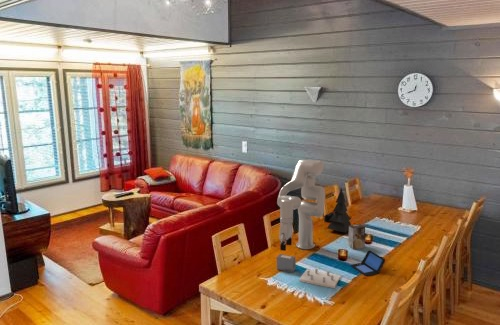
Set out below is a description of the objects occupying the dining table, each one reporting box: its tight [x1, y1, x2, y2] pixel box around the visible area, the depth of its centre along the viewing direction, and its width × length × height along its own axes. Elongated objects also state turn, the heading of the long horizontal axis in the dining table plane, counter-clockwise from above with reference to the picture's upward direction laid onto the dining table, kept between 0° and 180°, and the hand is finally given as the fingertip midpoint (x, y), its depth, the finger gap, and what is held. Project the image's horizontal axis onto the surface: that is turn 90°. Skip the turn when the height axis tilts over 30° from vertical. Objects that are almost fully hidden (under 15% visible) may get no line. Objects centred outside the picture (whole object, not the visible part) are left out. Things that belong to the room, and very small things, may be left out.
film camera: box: [322, 211, 335, 223], centre depth 321 cm, size 15×10×9 cm, turn 91°
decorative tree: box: [326, 187, 352, 233], centre depth 294 cm, size 15×15×35 cm
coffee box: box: [347, 223, 366, 250], centre depth 266 cm, size 9×6×16 cm
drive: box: [276, 253, 297, 273], centre depth 236 cm, size 5×10×8 cm, turn 64°
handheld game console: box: [350, 250, 386, 277], centre depth 235 cm, size 16×13×9 cm
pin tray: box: [298, 268, 341, 289], centre depth 224 cm, size 14×20×4 cm
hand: (286, 247), depth 234 cm, fingers open, 9 cm apart
